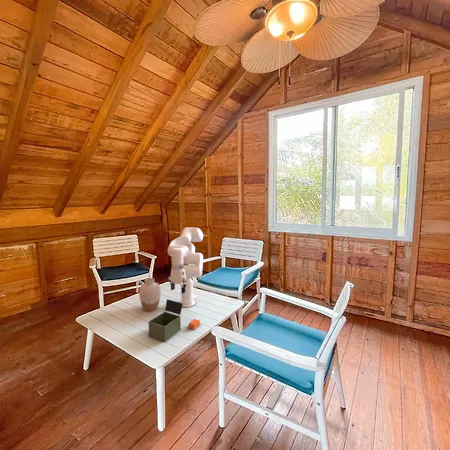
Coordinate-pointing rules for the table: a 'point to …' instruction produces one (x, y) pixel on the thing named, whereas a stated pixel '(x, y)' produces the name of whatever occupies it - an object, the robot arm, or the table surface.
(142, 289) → the vase
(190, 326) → the block
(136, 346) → the table surface
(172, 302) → the flap
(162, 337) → the olive green hollow box
